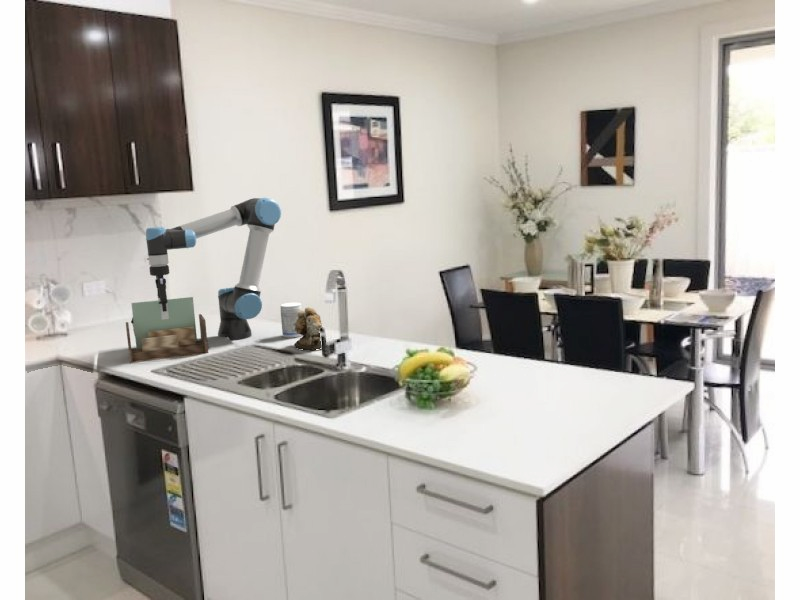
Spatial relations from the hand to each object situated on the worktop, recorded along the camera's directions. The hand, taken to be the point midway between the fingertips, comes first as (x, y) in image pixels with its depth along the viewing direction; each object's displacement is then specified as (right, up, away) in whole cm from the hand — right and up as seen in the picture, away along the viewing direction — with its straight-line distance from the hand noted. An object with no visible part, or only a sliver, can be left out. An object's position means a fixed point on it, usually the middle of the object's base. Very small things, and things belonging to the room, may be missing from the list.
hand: (164, 316), depth 284 cm
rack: (+2, -17, -1) cm, 17 cm away
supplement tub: (+49, -10, +30) cm, 58 cm away
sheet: (+1, -15, +3) cm, 15 cm away
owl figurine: (+59, -13, +8) cm, 61 cm away
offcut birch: (0, -16, -4) cm, 17 cm away
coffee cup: (-12, -15, +13) cm, 24 cm away
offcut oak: (+4, -15, +1) cm, 16 cm away
